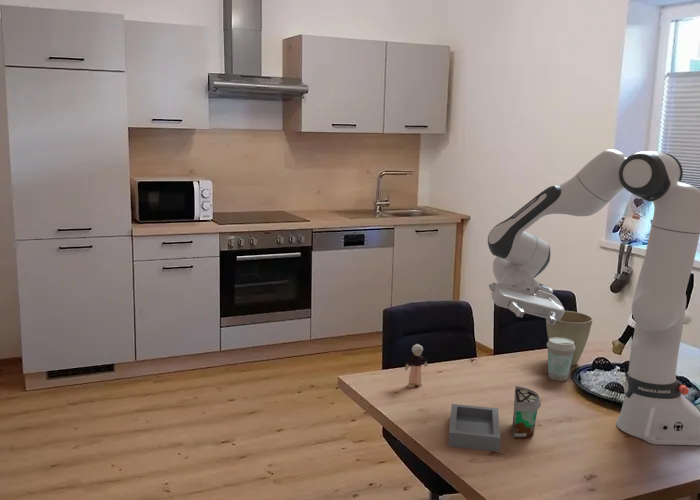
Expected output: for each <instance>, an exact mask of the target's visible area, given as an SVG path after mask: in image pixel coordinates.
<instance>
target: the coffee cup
mask: <svg viewBox="0 0 700 500" xmlns="http://www.w3.org/2000/svg"><path fill="white" fill-rule="evenodd" d="M546 347H547V366H548V367H547V370H548V372H547V373H548V374H547V375H548V378H549V379H550V380H553V381H558V382H565V381H567V380H569V377H570V371H571V367H572V366H571V362H572V358H573V353H574V350H575V345H574V342H573V341H572V340H570V339H566V338H559V337H555V338H550V339H549V340H548V341H547V343H546Z"/></svg>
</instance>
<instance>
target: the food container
mask: <svg viewBox="0 0 700 500" xmlns="http://www.w3.org/2000/svg"><path fill="white" fill-rule="evenodd" d="M514 388H515V389H514V390H515V391H514V401H513V402H514V403H513V416H512V418H513V419H512V430H513V431H512V432H513V440H528V439H530V438H532V437H533V436H534V435H535V434H534V433H535V427H536V420H537V416H538V409H540V408H541V406H542V403H541V398H540V396H539V393H538V392H536V391H534V390H532V389H530V388H528V387H523V386H518V385H515V387H514Z"/></svg>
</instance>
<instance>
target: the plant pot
mask: <svg viewBox="0 0 700 500" xmlns="http://www.w3.org/2000/svg"><path fill="white" fill-rule="evenodd" d="M593 320H594V319H593V317H592V316H590V315H588V314H585V313H583V312H578V311H573V310H571V311H570V310H565V312H564V314H563V316H562V318H561V319H560V320H559V321H556V323H555V324H554V325H550V324H548V323H547V318H545V324H546V334H547V340H548V341H549V339H550V338H555V337H559V338H566V339H570V340H572V341H573V342H574V345H575V350H574V353H573V358H572V362H571V367H573V365H574V366H576V365H577V364H578V362H579V361H580V358H581V357H582V354H583V352H584V349H585V347H586V344H587V342H588V339H589V336H590V334H591V333H590V332H591V328H592V324H593Z"/></svg>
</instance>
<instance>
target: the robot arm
mask: <svg viewBox="0 0 700 500" xmlns="http://www.w3.org/2000/svg"><path fill="white" fill-rule="evenodd" d="M683 174H684V171H683V166H682V164H681V162H680V161H679V160H678V158H677V157H675V156H673V155H672V154H669V153H665V152H661V151H658V150H657V151H656V150H647V151H646V150H645V151H643V150H642V151H637V152H634V153H632V154H630V155H629V156H627V155H626V154H625V153H623V152H622V151H619V150H616V149H611V148H610V149H609V148H608V149H605V150H603V151H602V152H600V153H598V154H597V155H595V157H593V158H592V159H591V160H590V161H588V163H586V164H585V165H584V166H583V167H582V168H581V169H580V170H579V171H578V172H577V173H576V174H574V176H572V177H571V178H570V179H568V180H567V181H565V182H563V183H561V184H557V185H551V186H549V187H547V188H545V189H544V190H542V191H541V192H540V193H538V194H537V195H535V197H533V198H532V199H531V200H530V201H528V202H527V203H526V204H524V205H523V206H521V208H520V209H518V210H516V212H514V213H513V214H512V215H510V217H508V218H506V219H505V220H502V221H501V222H499V223H498V224H496V225H495V226H494V227H493V228H492V229H491V230H490V232H489V234H488V237H487V245H488V249H489V252H490V253H491V254H492V256H495V258H494V260H493V263H492V272H493V276H494V278H495V280H496V282H497V283H496V282H493V283H489V284H488V288H489V291H491V298H492V301H493V303H494V304H495V305H496V306H497V307H500V308H504V309H508V310H510V311H511V312H513V313H514V314H515V315H516V317H518V318H523V317H524V315H525V314H528V315H533V316H536V317H539V318H544V319H546V318H547V323H548V324H550V325H554V324H555V323H556V321H559V320H560V319H561V318H562V316H563V314H564V312H565V311H566V310H565V307H564V306H563V303H562V302H561V301H560V300H559V298H558V297H557V296H556V295H555V294H553V293H554V290H553V289H552V288H551V287H549V286H547V285H545V284H542V283H540V282H538V281H537V280H535V279H534V278H536V277H538V276H539V275H540V274H541V273H542V272H543V271H544V270H545V269H546V268H547V266H548V265H549V264H550V260H551V247H550V245H549V243H548V242H547V241H545V240H543V239H542V238H539V237H538V236H536V235H534V234H531V233H529V232H528V231H526V230H528V229H529V228H531V226H532V225H533V224H535V223H537V222H538V221H539V220H541V218H543V217H546V216H548V215H567V216H573V217H589V216H592V215H594V214H597V213H598V212H599V211H601V210H602V209H603V208H605V206H606V205H607V204H608V203H609V202H610V201H611V200H612V199H614V197H615V196H616V195H617V194H618V193H619V192H620V191H622V190H626V191H628V192H629V193H630V194H632V195H634V196H636V197H639V198H640V199H643V200H645V201H646V202H649V203H650V202H652V203H653V205H654V206H653V208H654V211H653V217H652V220H651V221H652V222H651V226H650V231H649V235H648V240H647V243H646V250H645V254H644V258H643V261H642V262H643V263H642V265H641V269H640V272H639V275H638V279H637V283H636V287H635V290H634V295H633V298H632V304H631V314H632V317H633V320H634V321H635V326H634V332H633V337H632V340H631V344H630V354H629V355H630V356H629V364H628V371H627V372H626V377H625V379H624V380H625V381H624V389H623V391H624V399H623V403H622V407H621V409H620V411H619V415H618V418H617V420H616V423H615V424H616V426H617V427H618V429H620V430H621V431H623V432H624V433H626V434H628V435H630V436H633V437H635V438H639V439H642V440H644V441H645V442H647V443H649V444H652V445H665V446H667V445H669V446H670V445H671V446H700V411H699V409H698V408H697V407H696V406H695V405H694V404H693V403H692V402H691V401H690V400H689V399H688V398H686V397H685V396H687V395H688V394H689V392H690V389H689V388H688V387H687V386H686V385H685V384H683V383H682V382H681V381H680V380H679V379H677V378H676V375H677V369H678V368H677V367H678V359H679V349H680V346H681V339H682V333H683V327H684V321H685V314H686V309H687V308H686V307H687V302H688V301H687V294H686V292H687V289H688V284H689V281H690V278H691V277H690V276H691V275H692V274H691V273H692V270H693V267H694V263H695V257H696V254H697V250H698V245H699V240H700V189H699V188H698V187H696V186H694V185H693V184H689V183H686V182H685V183H684V182H682V179H683V176H684V175H683Z"/></svg>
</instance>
